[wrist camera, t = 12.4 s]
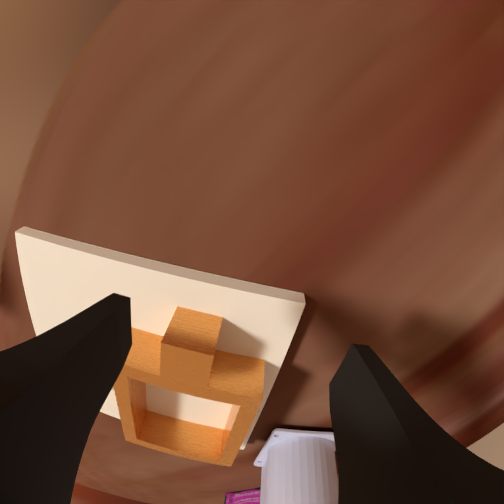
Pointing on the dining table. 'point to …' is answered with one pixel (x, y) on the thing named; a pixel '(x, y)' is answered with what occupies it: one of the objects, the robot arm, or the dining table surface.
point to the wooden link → (188, 388)
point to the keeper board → (159, 309)
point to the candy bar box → (243, 497)
